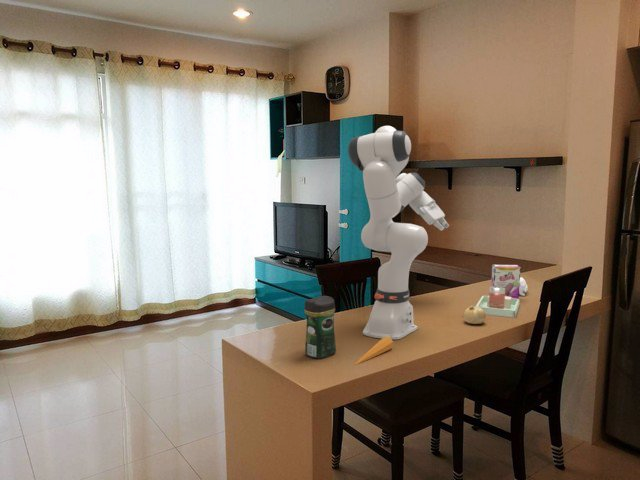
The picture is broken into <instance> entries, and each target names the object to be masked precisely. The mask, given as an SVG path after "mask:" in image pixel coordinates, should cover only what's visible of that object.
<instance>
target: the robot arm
mask: <svg viewBox="0 0 640 480" xmlns="http://www.w3.org/2000/svg"><path fill="white" fill-rule="evenodd" d="M347 150H348V151H347V152H348V153H347V154H348V158H349V160H350V162H351V163H352V165H354V167H356V168H357V169H358V170H359V171H361V172H362V179H363V187H364V192H365V196H366V200H367V204H368V207H369V215H370V218H369V221H368V222H367V223H366V224H365V225H364V226H363V228H362V230H361V233H360V235H361V236H360V238H361V242H362V244H363V246H364V247H365V248H367V249H370V250H373V251H376V252H385V253H391V255H390V256H391V257H390V259H389V261H387V262H385V263H383V264H382V265H380V266H379V268H378V271H377V288H376V292H375V294H374V299H375V301H374V304H373V306H372V309H371V312H370V315H369V319H368V320H367V321H368V322H367V323H366V325H365V326H364V328H363V330H362V335H364V336H367V337H370V338H376V339H380V340H381V339H382V338H383V337H389V338H391V339H392V340H401V339H402V338H404V337H406V336H408V335H410V334H411V333H413V332H415V331H417V330H418V326H417V325H416V324H414V306H413V305H412V304H411V303H410V289H409V278H410V277H409V275H410V269H411V265H412V263H413V261H414V260H415V259H416V258H417V257H418V255H420V254H421V253H423V252H424V250H426V247H427V246H428V242H429V236H428V233H427V230H426V229H425V228H424V226H420V225H417V224H413V223H408V222H407V223H406V222H395V221H393V218H395V217H396V216H397V215H398V214H399V213H401V212H402V211H403V210H404V209H405V208H406V206H408V205H409V207H410V208H411V209H412V210H413V211H414V212H415V213H416V214H417V215H419V216H420V217H421V218H422V219H423V220H424V221H425V222H426V224H428V225H429V226H430V225H433V226H434V227H436V228H437V229H438V230H439V231H444V230H445V229H448V228H449V227H450V224H449V223H448V222H447V221H446V219H445V217H446V214H445V212H444V211H443V210H442V209H441V208H440V206H439V205H438V204H437V203H436V200H435V199H434V198H432V197H431V196H430V195H429V194H428V193H427V192H426V191H424V190H425V187H426V181H425V180H424V179H423V178H422V177H421V176H420V174H419V173H418V172H409V173H406V172H402V170H404V169H405V168H406V166H407V164H408V163H409V160H410V159H409V158H410V156H411V151H412V142H411V139H410V137H409V134H407V132H405V131H403V130H397V129H396V127H393V126H391V125H383V126H380V127H379V128H377V130H375V132H371V133H368V134H364V135H358V136H355V137H353V138H351V139H350V141H349V143H348V146H347ZM401 172H402V173H401Z"/></svg>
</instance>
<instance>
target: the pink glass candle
mask: <svg viewBox="0 0 640 480" xmlns="http://www.w3.org/2000/svg"><path fill="white" fill-rule="evenodd" d="M488 291H489V292H488V296H489V308H498V309H504V308H505V287H502V286H491V285H490V286H489V290H488Z"/></svg>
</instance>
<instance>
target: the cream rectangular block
mask: <svg viewBox="0 0 640 480" xmlns="http://www.w3.org/2000/svg"><path fill="white" fill-rule="evenodd" d="M487 296H488V297H487V307H489V295H487ZM510 308H511V297H508V296H505V309H510Z"/></svg>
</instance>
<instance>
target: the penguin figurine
mask: <svg viewBox="0 0 640 480" xmlns="http://www.w3.org/2000/svg"><path fill="white" fill-rule="evenodd" d="M528 287H529V286H528V284H527V282H526V280H525V279H524V278H523V277H522V276H520V286H519V296H522V297H525V296H526V293H527V292H528Z"/></svg>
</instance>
